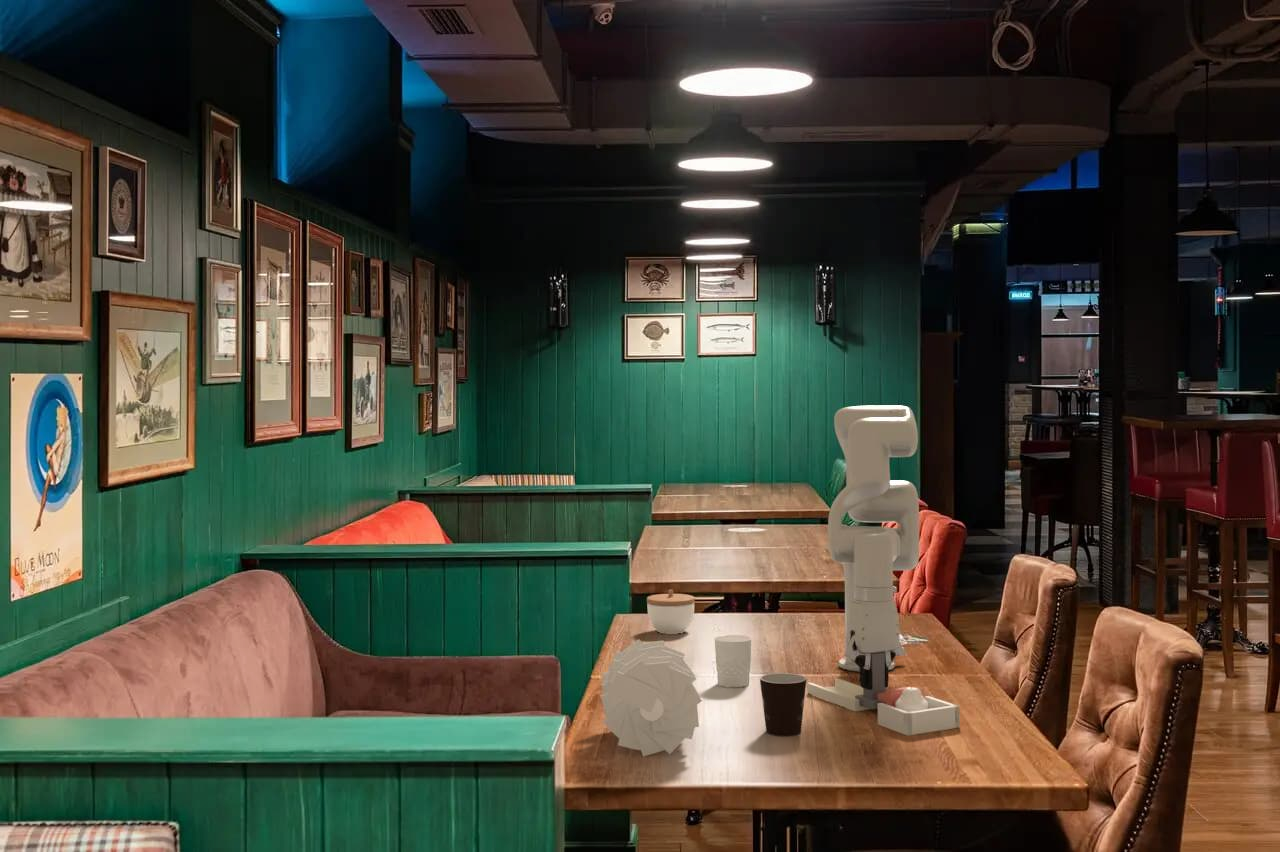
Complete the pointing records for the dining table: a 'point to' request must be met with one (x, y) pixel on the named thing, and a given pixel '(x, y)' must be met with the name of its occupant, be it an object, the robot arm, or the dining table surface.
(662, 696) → the spiral staircase
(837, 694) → the track
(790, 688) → the coffee mug
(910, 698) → the white ribbed dome
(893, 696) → the block
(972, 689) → the dining table surface
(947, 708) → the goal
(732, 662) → the white cup
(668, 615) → the lidded bowl
